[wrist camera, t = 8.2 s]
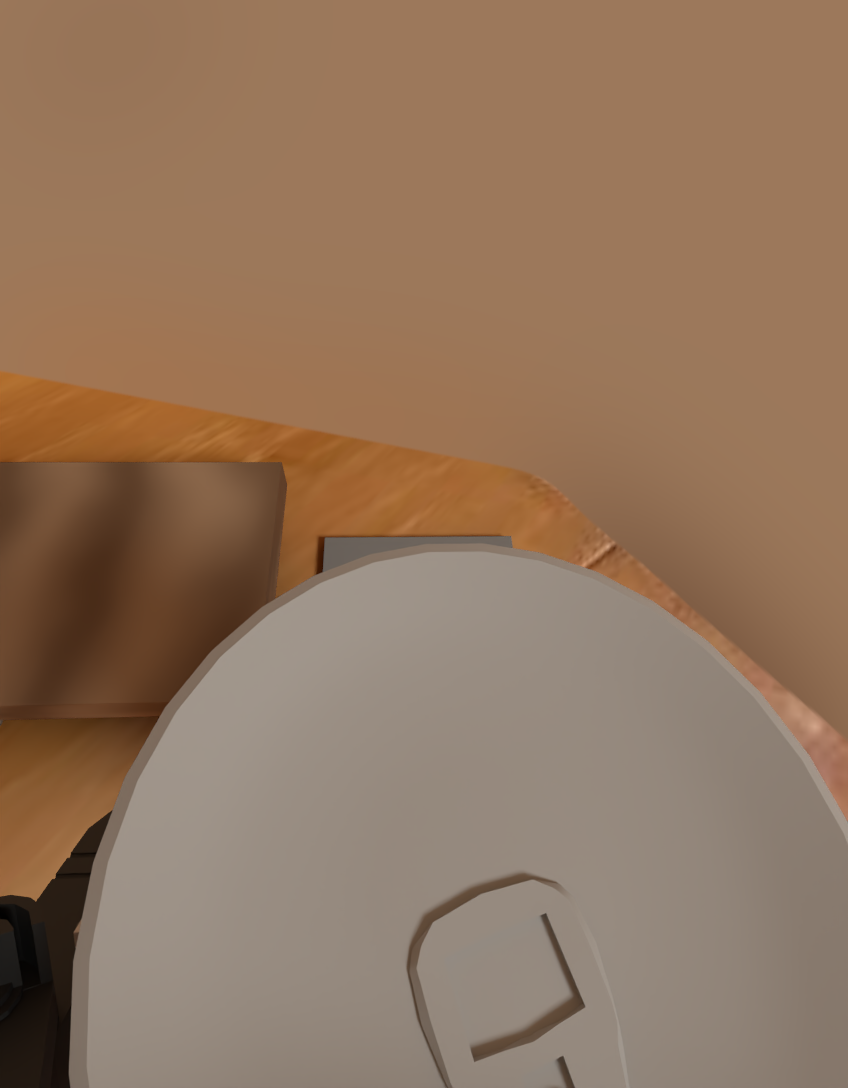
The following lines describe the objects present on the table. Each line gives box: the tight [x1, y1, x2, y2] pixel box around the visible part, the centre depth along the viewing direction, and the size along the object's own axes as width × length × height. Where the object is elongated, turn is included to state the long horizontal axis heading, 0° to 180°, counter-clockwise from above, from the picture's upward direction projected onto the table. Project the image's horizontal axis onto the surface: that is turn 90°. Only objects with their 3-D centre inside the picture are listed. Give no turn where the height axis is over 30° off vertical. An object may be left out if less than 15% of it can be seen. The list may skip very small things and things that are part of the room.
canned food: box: [69, 543, 848, 1088], centre depth 10 cm, size 8×8×11 cm
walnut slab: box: [0, 462, 287, 725], centre depth 30 cm, size 17×13×5 cm
